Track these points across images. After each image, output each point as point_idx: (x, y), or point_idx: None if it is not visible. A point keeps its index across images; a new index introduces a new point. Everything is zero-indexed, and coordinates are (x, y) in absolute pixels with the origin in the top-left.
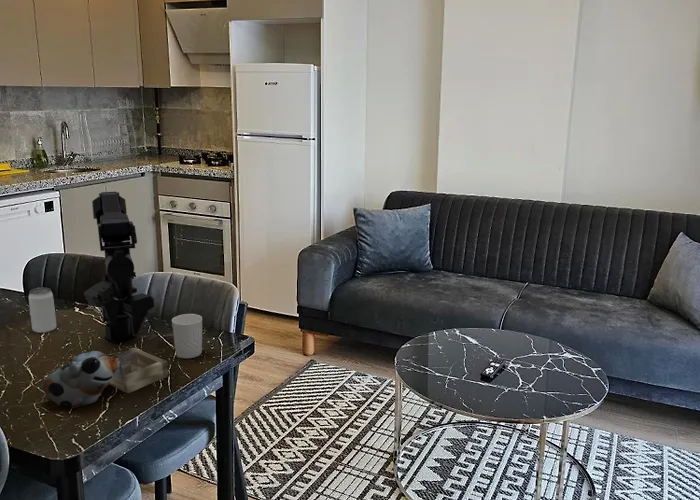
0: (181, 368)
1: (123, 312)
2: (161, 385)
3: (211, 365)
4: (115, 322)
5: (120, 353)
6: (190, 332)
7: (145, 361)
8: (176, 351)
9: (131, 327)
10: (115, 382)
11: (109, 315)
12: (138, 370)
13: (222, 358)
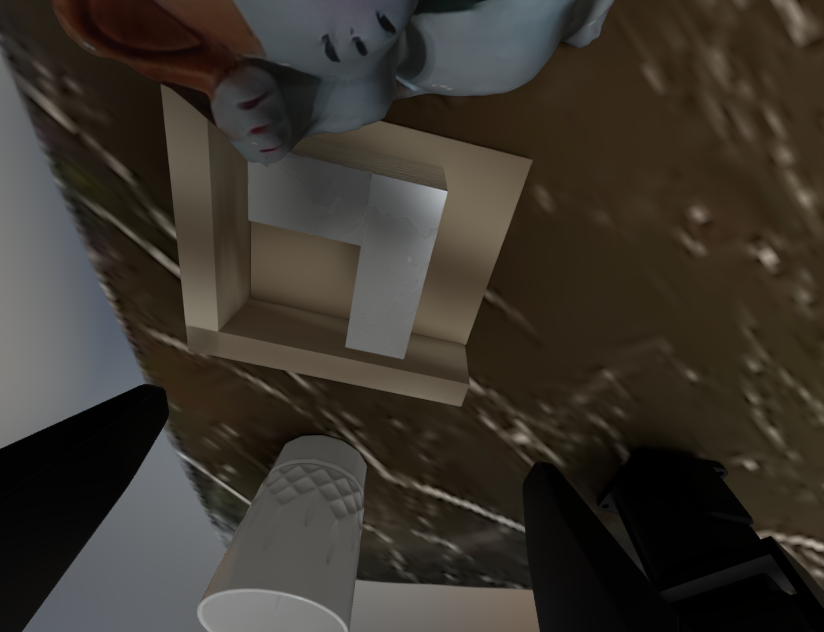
0: (246, 377)
1: (681, 615)
2: (172, 231)
3: (181, 426)
4: (525, 509)
5: (415, 296)
6: (229, 549)
7: (338, 338)
8: (337, 455)
9: (74, 441)
10: (357, 137)
11: (593, 590)
12: (202, 203)
13: (200, 470)
